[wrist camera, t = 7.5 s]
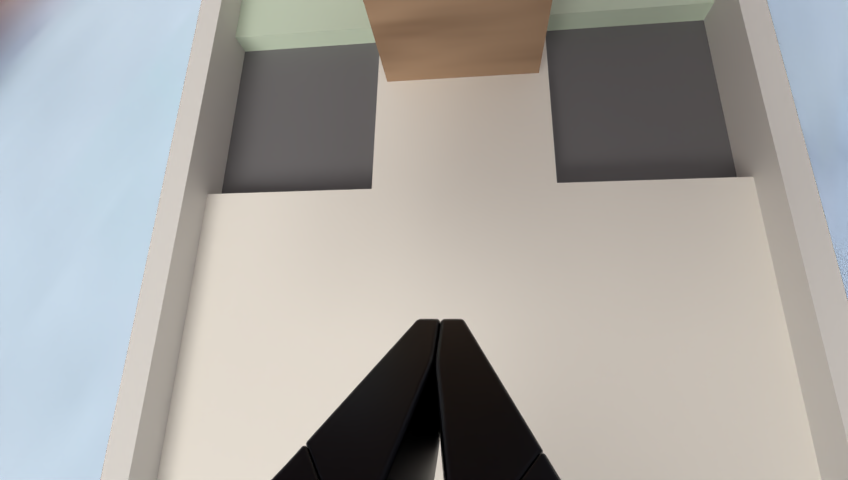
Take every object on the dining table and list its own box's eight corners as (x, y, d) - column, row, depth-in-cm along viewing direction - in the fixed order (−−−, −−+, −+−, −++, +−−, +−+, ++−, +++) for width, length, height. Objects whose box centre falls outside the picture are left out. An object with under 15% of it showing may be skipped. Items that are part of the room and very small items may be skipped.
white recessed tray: (857, 611, 17) (945, 662, 14) (139, 563, 20) (75, 596, 17) (701, -71, 28) (731, -131, 24) (245, -30, 31) (218, -79, 28)
